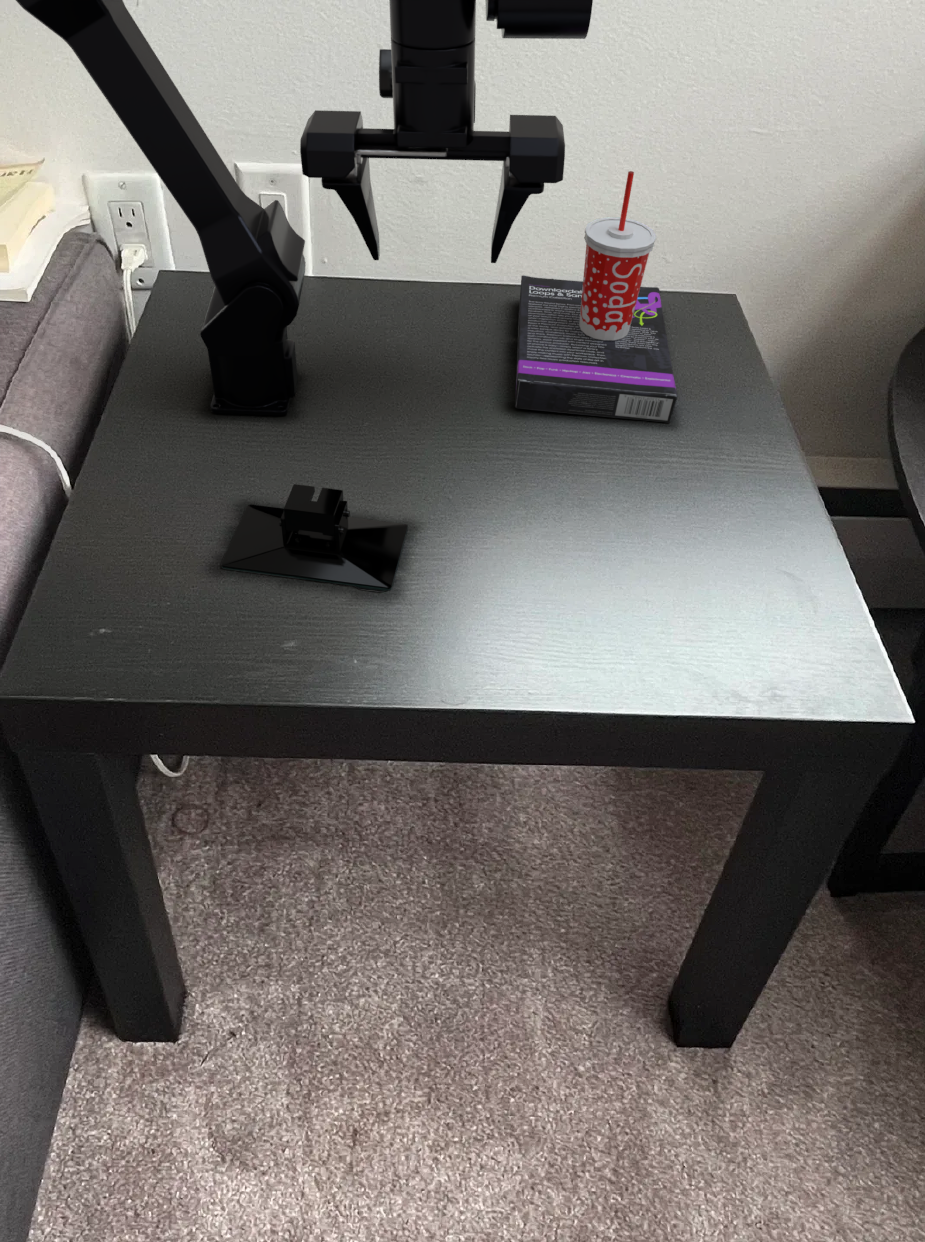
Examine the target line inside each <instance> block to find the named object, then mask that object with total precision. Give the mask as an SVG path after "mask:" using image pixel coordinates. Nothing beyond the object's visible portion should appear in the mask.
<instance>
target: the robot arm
mask: <svg viewBox="0 0 925 1242" xmlns="http://www.w3.org/2000/svg"><path fill="white" fill-rule="evenodd" d="M15 2H16V3H17V4H18V5H19V6H20V7H21V8H22V9H23V10H24V11H25V12H26V13H28V14H29V15H31V17H33V18H34V19H36V20H37V21H39V23H41V24H42V25H44V26H45V27H46V28H47V29H49V30H50V31H51V32H53V33H54V34H55V35H57V36H58V37H59V38H60V39H62V40H63V41H64V42H65V43H66V44H67V45H68V46H69V47H70V48H71V50H72V51H73V53H74V54H75V55H76V57H77V58H78V60H79V62H80V63H81V65H82V66H83V68H85V70H86V72H87V73H88V74H89V76H90V77H91V79H92V80H93V82H94V84H95V85H96V86H97V88H98V89H99V90H100V92H101V94H102V95H103V97H104V98H105V100H106V101H107V102H108V104H109V105H110V107H111V109H113V111H114V113H115V114H116V116H117V117H118V119H119V120H120V121H121V123H122V124H123V126H124V127H125V128H126V130H127V131H128V133H129V135H130V136H131V138H132V139H133V140H134V141H135V143H136V144H137V146H138V148H139V149H140V151H141V152H142V153H143V155H144V156H145V158H146V160H147V161H148V162H149V164H150V165H151V167H152V168H153V169H154V171H155V172H156V174H157V175H158V177H159V178H160V181H162V182H163V184H164V185H165V187H166V188H167V190H168V191H169V193H170V195H171V196H172V197H173V199H174V201H175V202H176V203H177V204H178V206H179V207H180V209H181V211H182V212H183V213H184V215H185V216H186V218H187V219H188V220H189V222H190V223H191V225H192V227H193V228H194V229H195V231H196V233H197V236H198V238H199V241H200V244H201V248H202V251H203V255H204V258H205V261H206V265H207V268H208V271H209V275H210V277H211V280H212V282H213V285H214V287H213V291H212V294H211V297H210V301H209V303H208V306H207V311H206V314H205V316H204V320H203V323H202V326H201V330H200V332H199V336H200V338H201V340H202V341H203V343H204V345H205V347H206V351H207V355H208V361H209V370H210V376H211V382H212V388H213V395H212V399H211V402H210V405H209V406H210V411H211V412H212V413H214V414H230V415H231V414H232V415H233V414H234V415H261V416H285V415H288V413H289V409H290V405H291V399H293V398H295V397H296V393H297V387H298V383H299V377H298V366H297V365H298V364H297V353H296V342H295V341H294V340H293V339H289V337H288V326H290V325H291V324H292V323H293V321H294V320H295V318H296V317H297V315H298V312H299V307H300V302H301V296H302V291H303V285H304V279H305V274H306V265H307V264H306V258H305V256H304V250H305V244H306V240H305V239H304V238H303V237H301V236H300V235H299V234H298V233H297V232H296V230H295V229H294V228H293V227H292V226H291V224H290V222H289V220H288V218H287V215H286V213H285V210H284V208H283V206H282V204H281V202H280V201H279V199H275V200H273V201H272V202H270V204H269V205H267V206H266V207H265V208H264V207H262V205H260V204H258V203H257V202H255V201H254V200H253V199H251V198H250V197H249V196H248V195H247V194H245V193H244V191H243V190H242V188H241V187H240V186H239V184H238V182H237V181H236V179H235V178H234V176H233V174H232V173H231V171H230V169H229V168H228V167H227V165H226V164H225V162H224V161H223V159H222V157H221V156H220V154H219V152H218V151H217V149H216V148H215V146H214V145H213V142H211V140H210V138H209V137H208V135H207V134H206V132H205V131H204V129H203V127H202V126H201V124H200V122H199V121H198V119H197V117H196V116H195V115H194V113H193V112H192V110H191V109H190V106H189V104H187V102H186V100H185V99H184V97H183V95H182V94H181V92H180V91H179V89H178V88H177V86H176V84H175V82H173V80H172V78H171V76H170V75H169V74H168V72H167V70H166V69H165V67H164V66H163V64H162V62H161V61H160V59H159V57H158V56H157V54H156V53H155V51H154V50H153V48H152V46H151V45H150V43H149V41H148V40H147V38H146V37H145V35H144V34H143V32H142V31H141V29H140V27H139V25H138V24H137V23H136V21H135V20H134V18H133V17H132V16H133V15H131V13H130V12H129V10H128V8H127V7H126V4H125V3H124V0H15ZM484 2H485V3H484V4H485V21H486V22H494V21H495V20H496V21H495V22H496V30H501V38H502V39H529V40H530V39H537V40H538V39H541V40H544V39H545V40H546V39H549V40H550V39H551V40H553V39H555V40H557V39H558V40H560V39H561V40H562V39H564V40H565V39H566V40H567V39H568V40H572V39H574V40H575V39H576V40H577V39H578V40H585V39H586V38H587V36H588V33H589V29H590V24H591V18H592V12H593V11H592V10H593V3H594V0H485V1H484ZM388 4H389V28H390V30H389V31H390V49H389V48H387V49H386V48H384V49H383V48H380V49H379V53H378V54H379V55H378V92H379V96H380V97H381V98H382V99H392V111H393V114H392V115H393V128H367V127H366V128H365V127H364V120H363V114H362V111H361V110H360V111H357V110H316V109H315V110H314V111H313V113H311V115H310V116H309V117H308V119H307V121H306V124H305V127H304V129H303V132H302V134H301V137H300V142H299V143H300V145H299V150H300V151H299V153H300V154H299V155H300V162H301V163H300V165H301V173H302V175H303V176H305V177H307V178H310V179H321V180H320V182H321V186H322V188H323V189H325V190H333V191H335V193H336V194H337V196H338V197H339V199H340V200H341V201H342V203H343V204H344V206H345V208H346V209H347V211H348V212H349V214H350V215H351V217H352V218H353V220H354V223H355V225H356V227H357V228H358V230H359V232H360V235H361V237H362V239H363V241H364V243H365V245H366V247H367V249H368V251H369V254H370V255H371V258H372V260H373V261H379V260H380V254H381V251H380V250H381V249H380V232H379V225H378V220H377V214H376V207H375V201H374V195H373V194H374V193H373V189H372V180H371V169H370V167H371V166H370V159H393V160H394V159H395V160H396V159H398V160H399V159H400V160H435V161H436V160H438V161H440V160H441V161H442V160H443V161H445V160H446V161H480V162H481V161H486V162H487V161H488V162H502V167H501V175H500V182H499V190H498V195H497V196H498V197H497V202H496V207H495V208H496V209H495V214H494V219H493V220H494V221H493V225H492V226H493V227H492V234H491V241H490V242H491V245H490V246H491V247H490V250H491V251H490V263H491V264H497V261H498V259H499V257H500V254H501V252H502V250H503V248H504V245H505V243H506V240H507V239H508V235H509V233H510V231H511V228H512V226H513V224H514V223H515V220H516V219H517V217H518V215H519V214H520V212H521V210H522V209H523V207H524V205H525V204H526V202H527V200H528V199H529V197H530V196H532V195H540V194H543V193H544V191H545V184H557V183H559V182H562V181H563V180H564V170H565V160H566V141H565V134H564V126H563V124H562V122H561V121H560V120H559V118H558V117H557V115H546V114H545V115H543V114H542V115H540V114H539V115H538V114H537V115H536V114H509V120H508V121H509V124H508V131H501V130H500V131H499V130H498V131H497V130H475V129H474V128H475V127H474V125H475V123H476V97H477V96H476V90H477V87H476V85H477V84H476V80H475V79H476V77H475V76H476V75H475V74H476V73H475V72H476V29H477V28H476V25H477V24H476V23H477V22H476V21H477V19H476V18H477V0H389V1H388Z"/></svg>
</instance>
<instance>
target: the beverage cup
mask: <svg viewBox="0 0 925 1242" xmlns="http://www.w3.org/2000/svg"><path fill="white" fill-rule="evenodd" d="M634 175H635V172H634V171H633V170H629V171H627V178H626V183H625V189H624V195H623V196H624V197H623V201H622V207H621V212H620V217H619V216H610V217H609V216H606V217H601V218H596V219H593V220H592V221H590V222H588V223H587V224H586V226H585V227H584V237H583V239H584V241H585V254H584V255H585V256H584V269H583V278H582V281H583V289H582V300H581V312H580V323H579V326H580V329H581V331H583V332H584V333H585V334H586V335H588V336H590V337H592V338H595V339H600V340H618V339H622V338H623V337H625V336H626V335H627V334H628V332H629V329H630V325H631V321H632V317H633V314H634V310H635V306H636V302H637V298H638V294H639V291H640V287H642V282H643V279H644V275H645V271H646V268H647V264H648V260H649V256H650V253H651V252H652V251H653V249H654V247H655V242H656V240H657V234H656V232H655V230H654V229H653V228H652V227H650V226H649V225H647V224H646V223H643V222H641V221H638V220H636V219H632V218H627V215H628V209H629V204H630V199H631V193H632V187H633V180H634V177H635V176H634Z"/></svg>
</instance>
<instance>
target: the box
mask: <svg viewBox="0 0 925 1242" xmlns="http://www.w3.org/2000/svg"><path fill="white" fill-rule="evenodd" d="M582 289H583V280H581V281H580V280H571V279H570V280H568V279H558V278H556V279H555V278H547V277H545V278H544V277H534V276H529V275H524V274H523V275H521V277H520V289H519V290H520V292H519V304H518V326H517V346H516V347H517V348H516V371H515V401H514V407H515V408H516V409H520V410H531V411H541V412H551V413H560V414H570V415H581V416H590V417H591V416H592V417H602V418H612V419H613V418H614V419H622V420H623V419H626V420H634V421H635V420H636V421H645V422H655V423H666V424H670V423H671V421H672V417H673V414H674V410H675V408H676V407H675V406H676V403H677V400H678V397H679V396H678V390H677V387H676V382H675V376H674V370H673V365H672V360H671V359H672V358H671V354H670V353H671V352H670V347H669V342H668V335H667V334H668V333H667V330H666V329H667V328H666V323H665V318H664V311H663V306H662V300H661V299H662V298H661V291H660V288H659V287H658V286H653V287H652V286H641V287H640V291H639V294H638V298H637V302H636V306H635V310H634V314H633V317H632V321H631V325H630V329H629V332H628V334H627V335H626V336H625V337H623V338H622V339H618V340H600V339H595V338H592V337H590V336H588V335H586V334H585V333H584V332H583V331H581V329H580V326H579V323H580V312H581V300H582Z"/></svg>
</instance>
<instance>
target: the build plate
mask: <svg viewBox="0 0 925 1242" xmlns="http://www.w3.org/2000/svg"><path fill="white" fill-rule="evenodd" d="M315 493H316V487H315V486H312V485H305V484H297V483H294V484H293V486H292V487H291V490H290V493H289V495H288V497H287V499H286V501H285V504H284V507H274V506H266V505H258V504H248V505H247V506H246V508H245V510H244V512H243V514H242V516H241V518H240V521H239V523H238V525H237V527H236V530H235V531H234V534H233V537H232V538H231V541H230V543H229V545H228V546H227V549H226V552H225V554H224V556H223V558H222V561H221V564H220V566H221V569H223V570H227V571H235V572H236V571H237V572H244V573H251V574H258V575H266V576H273V577H283V578H288V579H295V580H296V579H298V580H305V581H311V582H312V581H313V582H320V583H327V584H333V585H343V586H350V587H355V588H356V589H358V590H360V591H367V592H376V593H384V592H388V591H392V590H393V586H394V582H395V578H396V575H397V571H398V567H399V564H400V560H401V556H402V553H403V549H404V545H405V542H406V537H407V533H408V529H409V526H408V525H407V524H406V523H401V522H400V523H399V522H391V521H384V520H377V519H368V518H361V517H353V516H350V515H351V511H350V510H349V509H348V507H349V506H348V500H344V489H337V488H329V487H328V488H327V487H321V490H320V492H319V494H318V498H317V500H316V501H315V500H313V497H314V495H315Z"/></svg>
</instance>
